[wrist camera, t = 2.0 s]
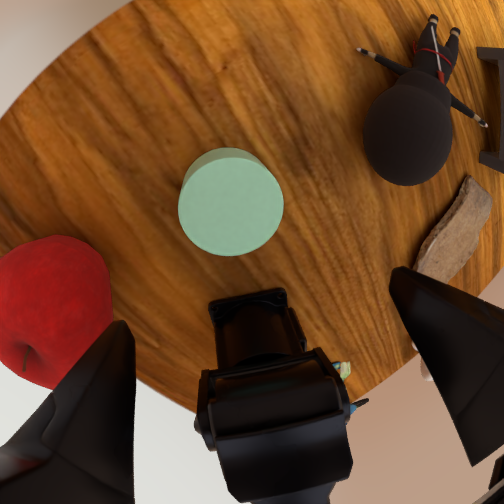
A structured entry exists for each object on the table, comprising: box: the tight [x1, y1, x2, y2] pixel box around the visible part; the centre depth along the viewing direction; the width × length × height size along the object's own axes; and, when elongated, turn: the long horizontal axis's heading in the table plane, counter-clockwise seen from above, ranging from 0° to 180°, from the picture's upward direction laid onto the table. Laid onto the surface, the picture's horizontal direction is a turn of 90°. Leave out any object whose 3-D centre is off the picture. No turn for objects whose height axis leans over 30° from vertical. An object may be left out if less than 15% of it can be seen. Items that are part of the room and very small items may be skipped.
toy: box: [357, 14, 488, 186], centre depth 14 cm, size 11×6×15 cm
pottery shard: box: [412, 175, 492, 284], centre depth 24 cm, size 8×3×15 cm
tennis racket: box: [352, 398, 369, 408], centre depth 33 cm, size 12×1×5 cm
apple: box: [0, 234, 113, 390], centre depth 15 cm, size 10×10×11 cm
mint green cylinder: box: [178, 147, 284, 256], centre depth 18 cm, size 6×6×4 cm
